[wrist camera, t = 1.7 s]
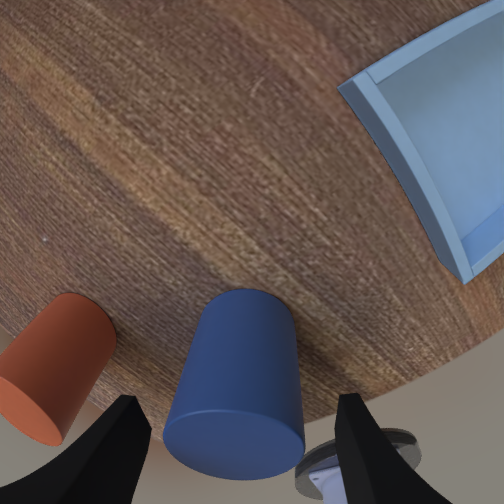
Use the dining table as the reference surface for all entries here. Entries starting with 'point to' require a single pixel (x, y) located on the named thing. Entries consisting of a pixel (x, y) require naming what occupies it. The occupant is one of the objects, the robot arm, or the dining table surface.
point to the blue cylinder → (239, 391)
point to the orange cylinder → (54, 367)
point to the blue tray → (445, 132)
